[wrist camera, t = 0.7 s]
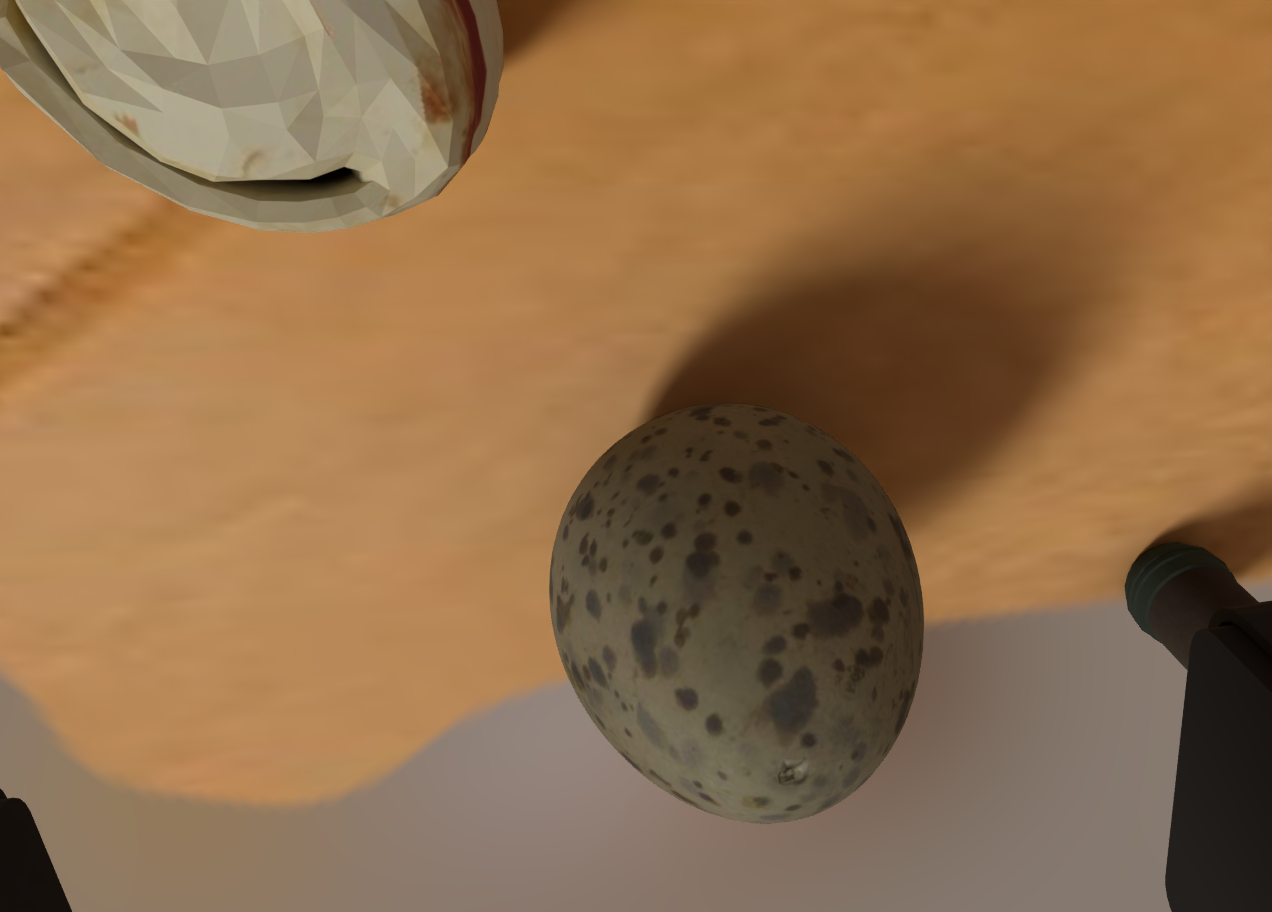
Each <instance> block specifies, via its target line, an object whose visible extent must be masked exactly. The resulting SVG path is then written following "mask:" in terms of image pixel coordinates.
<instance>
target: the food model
mask: <svg viewBox="0 0 1272 912" xmlns="http://www.w3.org/2000/svg"><path fill="white" fill-rule="evenodd" d="M0 66H1V68H2V70H3V71H4V72H5V73H6V75H7V76H8V77H9V78H10V79H11V81H12V82H13V83H14V84H15V85H16V87H17V88H18V89H19V90H20V91H21V93H22V94H23V95H25V96H26V97H27V98H28V99H29V100H30V101H31V102H33V103H34V104H35V105H36V106H37V107H38V108H39V109H41V110H42V111H43V112H44V113H45V114H46V115H47V116H48V117H50V118H51V119H52V120H53V121H54V122H55V123H56V124H58V125H59V126H60V127H61V128H62V129H63V130H64V131H66V132H67V133H68V134H69V135H70V136H71V137H72V138H73V139H75V140H76V141H77V142H78V143H79V144H80V145H81V146H83V147H84V148H85V149H86V150H87V151H88V152H89V153H91V154H92V155H93V156H94V157H95V158H96V159H97V160H98V161H100V162H101V163H102V164H103V165H105V166H106V167H108V168H110V169H112V170H114V171H116V172H118V173H120V174H121V175H123V176H125V177H127V178H129V179H131V180H133V181H135V182H137V183H139V184H141V185H143V186H145V187H146V188H148V189H150V190H152V191H154V192H156V193H158V194H160V195H162V196H164V197H166V198H168V199H170V200H171V201H173V202H175V203H177V204H179V205H181V206H183V207H185V208H187V209H189V210H191V211H194V212H198V213H201V214H205V215H208V216H212V217H215V218H219V219H222V220H226V221H229V222H232V223H236V224H239V225H243V226H246V227H250V228H253V229H257V230H265V231H282V232H300V233H313V232H321V231H329V230H338V229H346V228H350V227H353V226H357V225H360V224H364V223H367V222H371V221H374V220H377V219H381V218H384V217H388V216H392V215H396V214H398V213H400V212H402V211H404V210H407V209H409V208H411V207H413V206H416V205H418V204H420V203H422V202H425V201H427V200H429V199H431V198H434V197H436V196H438V195H439V194H440V193H441V191H442V190H443V189H444V188H445V187H446V186H447V184H448V183H449V182H450V181H451V180H452V178H453V177H454V176H455V175H456V174H457V173H458V171H459V170H460V169H461V168H462V167H463V165H464V164H465V163H466V161H467V160H468V158H469V157H470V156H471V155H472V154H473V153H474V152H475V151H476V149H477V148H478V146H479V145H480V143H481V142H482V140H483V138H484V136H485V134H486V132H487V129H488V126H489V123H490V120H491V117H492V113H493V110H494V107H495V104H496V101H497V98H498V90H499V82H500V79H501V75H502V72H503V29H502V24H501V19H500V14H499V10H498V5H497V0H0Z"/></svg>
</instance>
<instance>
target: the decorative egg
mask: <svg viewBox="0 0 1272 912" xmlns="http://www.w3.org/2000/svg"><path fill="white" fill-rule="evenodd" d="M549 594H550V610H551V618H552V624H553V630H554V635H555V639H556V643H557V647H558V650H559V654H560V657H561V660H562V663H563V665H564V668H565V671H566V673H567V676H568V678H569V680H570V682H571V684H572V686H573V688H574V690H575V692H576V694H577V696H578V698H579V700H580V702H581V703H582V705H583V707H584V708H585V710H586V711H587V713H588V714H589V716H590V717H591V719H592V720H593V722H594V723H595V725H596V726H597V727H598V729H599V730H600V731H601V732H602V734H603V735H604V736H605V738H606V739H607V740H608V741H609V742H610V743H611V744H612V746H613V747H614V748H615V749H616V750H617V751H618V752H619V753H620V754H621V755H622V756H623V757H624V758H625V759H626V760H627V761H628V762H629V763H630V764H631V765H632V766H633V767H634V768H635V769H637V770H638V771H639V772H640V773H641V774H642V775H644V776H645V777H646V778H647V779H649V780H650V781H652V782H653V783H654V784H656V785H657V786H658V787H660V788H661V789H663V790H665V791H666V792H668V793H669V794H671V795H673V796H674V797H676V798H678V799H679V800H681V801H684V802H685V803H687V804H689V805H691V806H694V807H696V808H698V809H701V810H704V811H706V812H708V813H711V814H714V815H718V816H721V817H724V818H728V819H732V820H738V821H743V822H749V823H760V824H771V823H778V822H788V821H792V820H798V819H802V818H806V817H810V816H813V815H815V814H817V813H820V812H822V811H824V810H826V809H828V808H831V807H832V806H834V805H836V804H837V803H839V802H841V801H842V800H843V799H845V798H846V797H848V796H849V795H850V794H851V793H853V792H854V791H856V790H857V789H858V788H859V787H860V786H861V785H862V784H863V783H864V782H865V781H866V780H867V779H868V778H869V777H870V776H871V775H872V774H873V772H874V771H875V770H876V768H877V767H878V766H879V765H880V764H881V762H882V761H883V760H884V758H885V757H886V756H887V754H888V753H889V751H890V750H891V748H892V746H893V744H894V743H895V741H896V739H897V738H898V736H899V734H900V731H901V730H902V727H903V725H904V723H905V720H906V718H907V716H908V713H909V710H910V707H911V704H912V701H913V699H914V695H915V691H916V687H917V683H918V678H919V672H920V667H921V659H922V651H923V633H924V614H923V600H922V591H921V585H920V579H919V574H918V569H917V564H916V561H915V557H914V554H913V550H912V547H911V544H910V541H909V538H908V536H907V533H906V531H905V529H904V526H903V524H902V521H901V519H900V517H899V515H898V513H897V511H896V509H895V507H894V506H893V504H892V502H891V501H890V499H889V497H888V496H887V494H886V493H885V491H884V489H883V488H882V487H881V485H880V484H879V483H878V481H877V480H876V479H875V477H874V476H873V475H872V474H871V473H870V471H869V470H868V469H867V468H866V467H865V466H864V464H863V463H862V462H861V461H860V460H859V459H858V458H857V457H856V456H854V455H853V454H852V453H851V452H850V451H849V450H848V449H847V448H845V447H844V446H843V445H842V444H841V443H839V442H838V441H837V440H836V439H834V438H833V437H831V436H830V435H828V434H826V433H825V432H823V431H822V430H820V429H819V428H817V427H815V426H813V425H812V424H810V423H807V422H805V421H803V420H801V419H799V418H797V417H794V416H792V415H789V414H786V413H783V412H780V411H777V410H774V409H770V408H766V407H761V406H755V405H750V404H737V403H714V404H706V405H697V406H692V407H688V408H683V409H680V410H676V411H673V412H671V413H668V414H665V415H662V416H660V417H657V418H655V419H653V420H650V421H649V422H647V423H645V424H643V425H641V426H639V427H638V428H636V429H635V430H633V431H631V432H630V433H628V434H627V435H626V436H624V437H623V438H622V439H620V440H619V441H618V442H616V443H615V444H614V445H613V446H612V447H611V448H609V449H608V450H607V451H606V452H605V453H604V454H603V455H602V456H601V457H600V458H599V459H598V460H597V461H596V463H595V464H594V465H593V466H592V467H591V468H590V470H589V471H588V472H587V474H586V475H585V477H584V478H583V479H582V481H581V482H580V484H579V486H578V487H577V489H576V490H575V492H574V494H573V495H572V497H571V499H570V501H569V503H568V505H567V508H566V510H565V512H564V514H563V517H562V519H561V522H560V525H559V528H558V532H557V535H556V539H555V542H554V547H553V552H552V560H551V568H550V584H549Z"/></svg>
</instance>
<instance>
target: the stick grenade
mask: <svg viewBox="0 0 1272 912" xmlns="http://www.w3.org/2000/svg"><path fill="white" fill-rule="evenodd" d="M1125 593H1126V599H1127V606H1128V610H1129V612H1130V613H1131V615H1132V617H1133V618H1134V620H1135V621H1136V622H1137V624H1138V625H1139V627H1140V628H1141V630H1143V631H1144V632H1146V633H1147V634H1149V635H1151V636H1152V637H1153V638H1154V639H1156V640H1157V641H1159V642H1160V643H1162V644H1163V645H1164V646H1165V647H1166V648H1167V649H1168V650H1169V651H1170V652H1171V653H1172V654H1173V656H1174V657H1175V658H1176V659H1177V660H1178V661H1179V662H1180V663H1181V664H1182V665H1183V666H1184V667H1185V668H1186V669H1187V670H1188V663H1189V653H1190V646H1191V641H1192V638H1193V636H1194V634H1195V633H1196V632H1197V631H1199V630H1201V629H1206V628H1208V626H1209V622H1210V619H1211V617H1212V616H1213V614H1214V613H1215V611H1217V610H1219V609H1221V608H1224V607H1231V606H1238V605H1245V604H1252V603H1259V602H1258V601H1257V600H1256V599H1255V598H1254V597H1253V596H1251V595H1250V594H1249V593H1248V592H1247V591H1246V590H1245V589H1244V588H1243V587H1242V586H1241V585H1240V584H1238V583H1237V581H1236V579H1235V578H1234V576H1233V574H1232V573H1231V572H1230V571H1229V570H1228V568H1227V566H1226V564H1225V563H1224V562H1223V561H1221V560H1220V559H1218V558H1217V557H1216V556H1214V555H1213V554H1211V553H1210V552H1208V551H1207V550H1205V549H1204V548H1201V547H1196V546H1191V545H1187V544H1182V543H1171V544H1163V545H1160V546H1158V547H1156V548H1154V549H1152V550H1149V551H1148V552H1146V553H1145V554H1144V555H1143V556H1142V557H1140V558H1139V559H1138V560H1137V561H1136V562H1135V564H1134V565H1133V567H1132V568H1131V570H1130V571H1129V573H1128V576H1127V579H1126V583H1125Z"/></svg>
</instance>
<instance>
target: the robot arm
mask: <svg viewBox="0 0 1272 912" xmlns="http://www.w3.org/2000/svg"><path fill="white" fill-rule="evenodd" d="M1165 880H1166V881H1165V885H1166V892H1167V898H1168V901H1169V905H1170V908H1171V911H1172V912H1272V601H1266V602H1260V603H1252V604H1245V605H1238V606H1231V607H1224V608H1221V609H1219V610H1217V611H1215V613H1214V614H1213V616H1212V617H1211V619H1210V622H1209V626H1208V628H1206V629H1201V630H1199V631H1197V632H1196V633H1195V634H1194V636H1193V638H1192V641H1191V646H1190V653H1189V663H1188V673H1187V682H1186V690H1185V700H1184V709H1183V718H1182V728H1181V737H1180V746H1179V755H1178V765H1177V775H1176V783H1175V793H1174V802H1173V811H1172V821H1171V829H1170V839H1169V848H1168V857H1167V866H1166V876H1165ZM0 912H72V910H71V908H70V905H69V903H68V901H67V898H66V896H65V893H64V891H63V889H62V886H61V884H60V882H59V879H58V877H57V874H56V872H55V870H54V867H53V865H52V862H51V860H50V857H49V855H48V853H47V850H46V848H45V846H44V843H43V841H42V838H41V836H40V833H39V831H38V829H37V826H36V824H35V821H34V819H33V817H32V815H31V812H30V810H29V808H28V807H27V805H26V804H25V803H24V802H23V801H22V800H21V799H18V798H8V799H7V797H6V795H5V794H4V792H3V791H2V790H1V789H0Z"/></svg>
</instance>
